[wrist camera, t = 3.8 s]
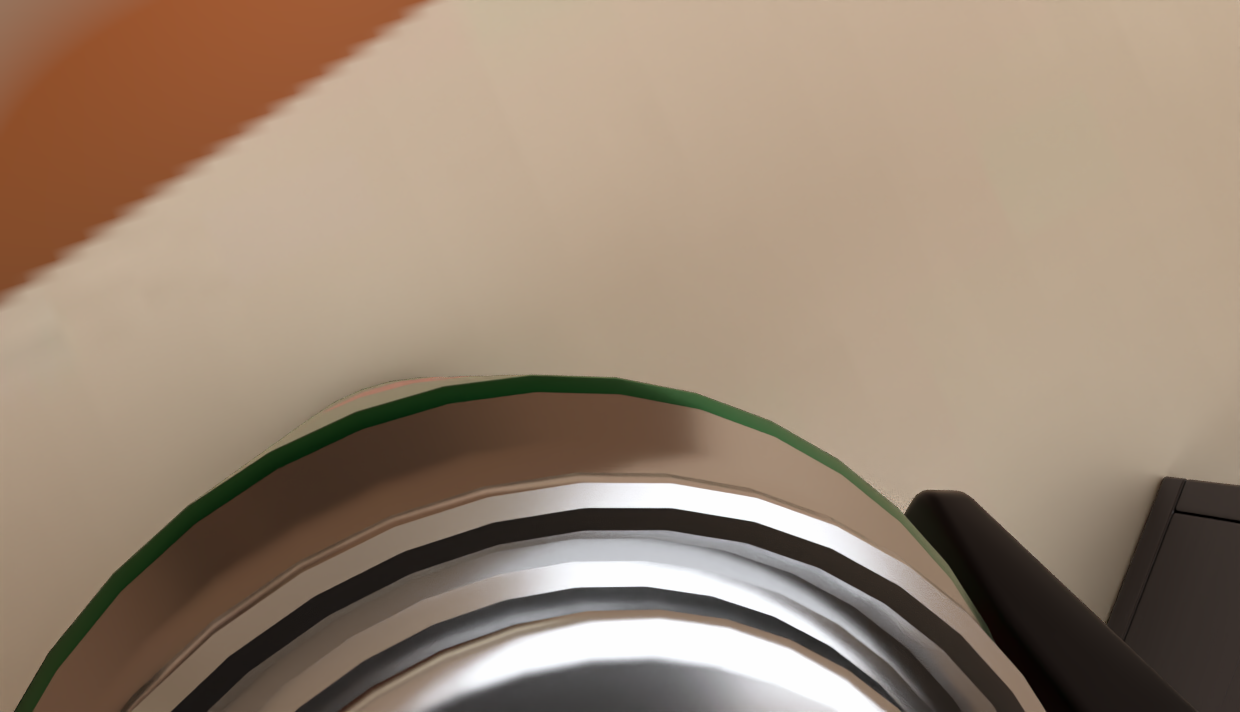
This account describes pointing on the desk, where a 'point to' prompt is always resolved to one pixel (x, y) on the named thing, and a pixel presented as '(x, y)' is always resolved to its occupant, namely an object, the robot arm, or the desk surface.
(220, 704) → the soda can
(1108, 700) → the robot arm
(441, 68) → the desk surface
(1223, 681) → the black tray
